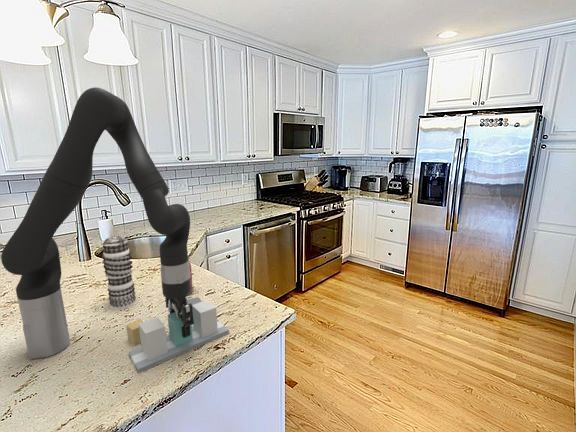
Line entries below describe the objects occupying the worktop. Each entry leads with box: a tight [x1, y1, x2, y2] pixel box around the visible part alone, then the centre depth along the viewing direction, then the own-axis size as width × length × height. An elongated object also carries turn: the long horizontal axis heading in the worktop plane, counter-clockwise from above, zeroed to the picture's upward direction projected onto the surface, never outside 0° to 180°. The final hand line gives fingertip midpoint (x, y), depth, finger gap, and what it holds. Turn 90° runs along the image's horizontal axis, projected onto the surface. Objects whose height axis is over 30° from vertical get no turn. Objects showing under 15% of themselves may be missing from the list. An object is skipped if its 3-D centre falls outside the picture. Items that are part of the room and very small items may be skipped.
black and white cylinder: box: [100, 235, 137, 311], centre depth 108 cm, size 9×9×25 cm
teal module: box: [167, 312, 193, 347], centre depth 87 cm, size 5×4×8 cm
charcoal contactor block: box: [187, 296, 202, 305], centre depth 101 cm, size 4×5×6 cm
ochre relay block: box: [125, 318, 144, 346], centre depth 90 cm, size 4×4×5 cm
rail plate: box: [127, 299, 230, 374], centre depth 87 cm, size 26×9×9 cm, turn 131°
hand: (180, 329), depth 87 cm, fingers open, 8 cm apart
